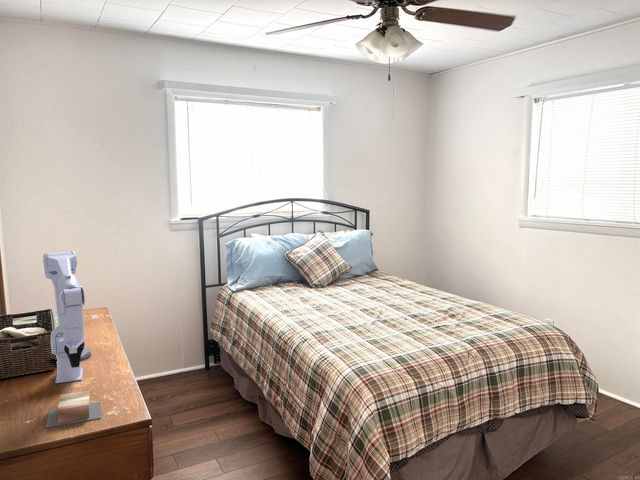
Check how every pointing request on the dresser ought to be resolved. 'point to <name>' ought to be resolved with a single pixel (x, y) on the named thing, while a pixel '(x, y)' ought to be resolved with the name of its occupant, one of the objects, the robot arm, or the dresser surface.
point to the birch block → (74, 406)
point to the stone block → (85, 353)
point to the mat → (94, 414)
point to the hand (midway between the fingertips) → (75, 366)
